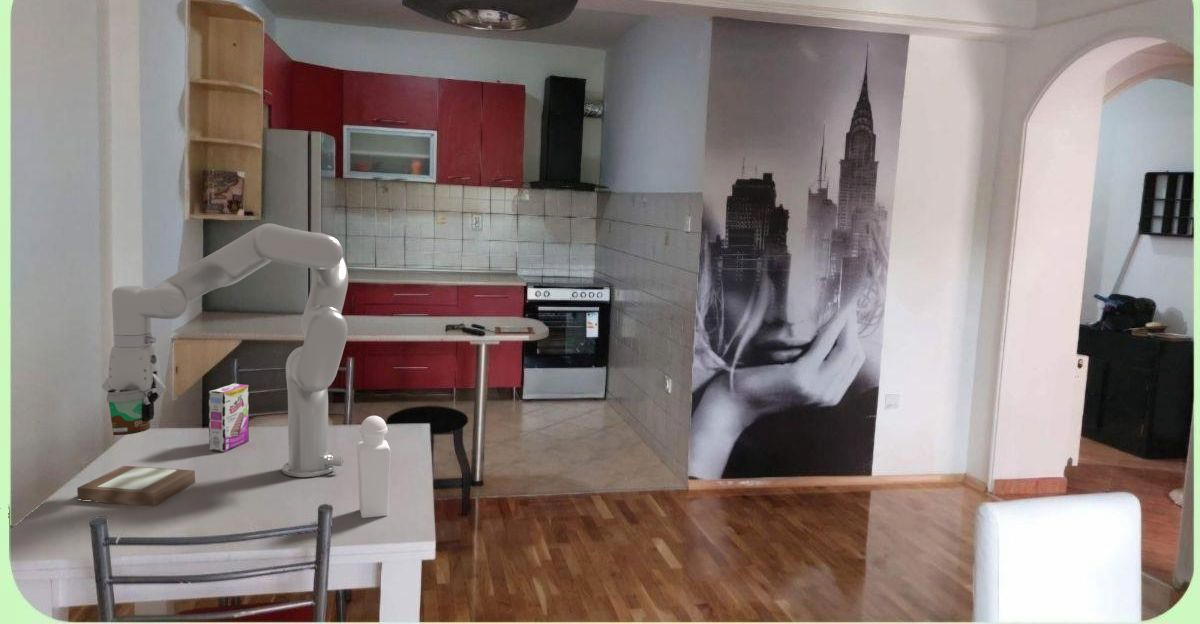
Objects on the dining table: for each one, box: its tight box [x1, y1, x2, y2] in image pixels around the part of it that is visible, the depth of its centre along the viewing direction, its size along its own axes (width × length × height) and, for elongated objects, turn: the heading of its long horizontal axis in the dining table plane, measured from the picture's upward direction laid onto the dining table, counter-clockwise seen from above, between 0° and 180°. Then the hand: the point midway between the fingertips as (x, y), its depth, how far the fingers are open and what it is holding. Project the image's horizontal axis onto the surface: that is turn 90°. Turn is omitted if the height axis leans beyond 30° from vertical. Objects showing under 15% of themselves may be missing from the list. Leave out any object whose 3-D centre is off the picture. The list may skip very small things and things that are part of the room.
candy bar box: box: [208, 383, 250, 453], centre depth 233 cm, size 11×5×16 cm, turn 169°
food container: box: [106, 389, 151, 436], centre depth 195 cm, size 12×6×10 cm, turn 177°
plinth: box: [76, 465, 196, 507], centre depth 197 cm, size 18×16×3 cm
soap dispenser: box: [356, 415, 391, 519], centre depth 188 cm, size 6×6×22 cm
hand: (135, 418), depth 195 cm, fingers closed on food container, 5 cm apart
